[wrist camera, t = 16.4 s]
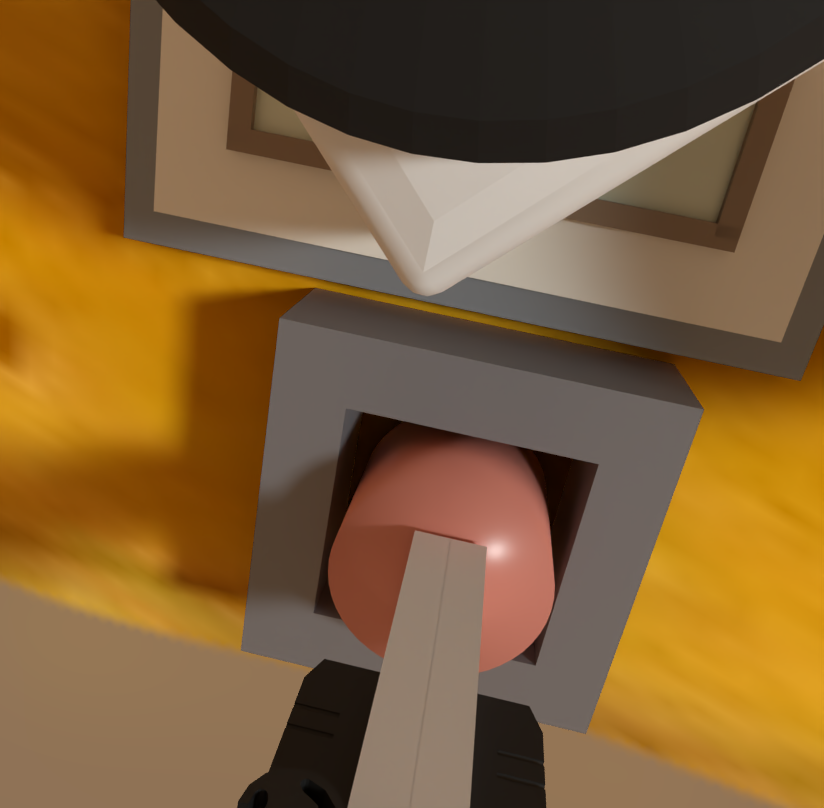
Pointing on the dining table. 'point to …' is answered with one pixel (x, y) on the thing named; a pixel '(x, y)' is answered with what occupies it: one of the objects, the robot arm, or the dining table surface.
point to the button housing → (479, 417)
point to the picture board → (529, 262)
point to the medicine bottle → (500, 101)
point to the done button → (447, 533)
